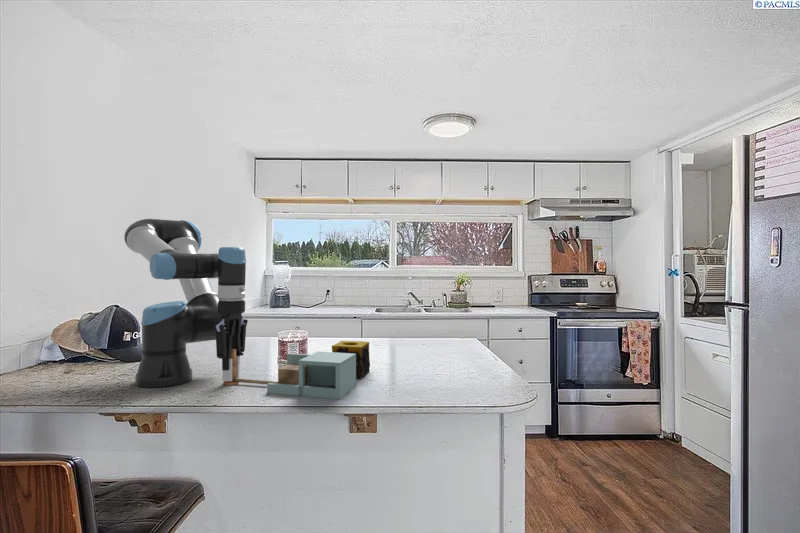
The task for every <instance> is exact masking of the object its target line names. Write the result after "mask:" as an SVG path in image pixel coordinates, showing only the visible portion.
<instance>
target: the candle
mask: <svg viewBox="0 0 800 533" xmlns="http://www.w3.org/2000/svg"><path fill="white" fill-rule="evenodd" d="M331 352H336V353H353V354H356V380H362V379H363V378H364V377H366V375H368V373H370V368H371V367H370V366H371V363H370V361H371V360H370V342H369V341H362V340H361V341H359V340H358V341H357V340H341V341H339V342H337V343H334V344H333V345H331Z"/></svg>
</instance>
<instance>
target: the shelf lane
mask: <svg viewBox="0 0 800 533" xmlns="http://www.w3.org/2000/svg"><path fill="white" fill-rule="evenodd" d="M288 364H294V365H299V385H290V384H277V383H268V384H266V393H267V394H273V395H275V394H276V395H285V396H295V397H296V396H297V397H309V398H320V399H321V398H322V399H332V400H341V399H342V398H343V397H345V396H346V395H347V394H349V392H351V391H352V390H354V389H355V388H356V386H357V379H356V354H353V353H336V352H332V351H317V352H314V353H312V354H310V353H309V354H308V353H295V352H294V353H293V352H292V353H291V352H288V353H287V354H286V365H288ZM305 365H308V386H305ZM312 385H313V386H312ZM329 386H330V387H329Z"/></svg>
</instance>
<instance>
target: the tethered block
mask: <svg viewBox="0 0 800 533" xmlns="http://www.w3.org/2000/svg"><path fill="white" fill-rule="evenodd" d="M230 358H232V381H231V382H230V381H222V384H223V386H235V385H238V384H240V383H245V384H253V385H254V384H258V385H267V384H268V383H277V384H290V385H299V365H294V364H288V365H287V364H286V365H284V366H282V367H279V368H278V370H277V371H278V374H277V376H278V377H277V378H278V379H277V381H274V380H273V381H272V380H262V379H261V380H259V379H258V380H257V379H247V378H236V349H234V348H232V349H231V357H230ZM305 386H309V384H308V365H305Z"/></svg>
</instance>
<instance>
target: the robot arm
mask: <svg viewBox="0 0 800 533" xmlns="http://www.w3.org/2000/svg"><path fill="white" fill-rule="evenodd" d="M123 236H124V237H123V238H124V243H125V245H126V246H127V248H128V249H129V250H131V251H133V252H134V253H136V254H140V255H141V256H142V257H143V258H145V259H146V260H147V261H148V262H149V272H150V274H151V277H152V278H153V279H156V280H165V281H168V280H179V282H180V285H181V288H182V291H183V294H184V296H185V299H186V301H183V300H176V301H165V302H160V303H155V304H152V305H149V306H147V307H145V308H144V309H143V310H142V314H141V315H142V316H141V317H142V318H141V321H140V322H141V324H140V325H141V354H142V355H141V359H140V363H139V365H138V368H137V373H136V374H135V376H134V378H135V379H134V381H135V382H134V385H135V386H136V387H140V388H165V387H166V388H167V387H171V386H177V385H182V384H185V383H188V382H190V381H191V380H193V370H192V368H191V365H190V362H189V359H188V355H187V344H193V343H200V342H207V341H208V342H210V341H215V348H216V358H218V359H220V360H221V361H222V362H221V363H222V364H221V365H222V366H221V368H222V382H223V381H230V382H231V381H232V358H230V357H231V349H232V348H234V349H236V379H240V364H241V363H240V362H241V360H240V359H241V358H240V356H241V357H242V356H244V353H245V349H246V335H247V326H248V322H249V321H248V319H244V318H243V314H244V313H245V312H246V301H245V298H246V270H247V268H246V266H247V265H246V264H247V263H246V262H247V258H246V257H247V256H246V249H245V248H243V247H240V246H239V247H238V246H237V247H235V246H222V247H219V249H218V252H217V253H199V250H200V249H201V245H202V236H201V230H200V228H199V226H198V225H197V224H196V223H194V222H192V221H187V220H184V219H183V220H173V219H160V218H159V219H157V218H156V219H155V218H143V219H140V220H137V221H135V222H133V223H132V224H130V225H129V226H128V227H127V229H126V230H125V231H124V235H123ZM209 279H218V282H217V293H216V292H214V289H213V287H212V284H211V283H210V280H209ZM186 302H187V303H186Z"/></svg>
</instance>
